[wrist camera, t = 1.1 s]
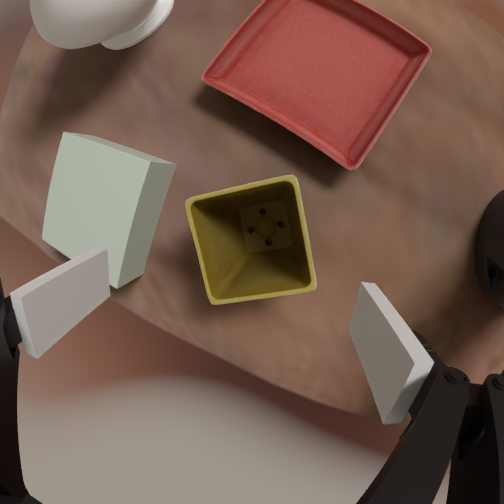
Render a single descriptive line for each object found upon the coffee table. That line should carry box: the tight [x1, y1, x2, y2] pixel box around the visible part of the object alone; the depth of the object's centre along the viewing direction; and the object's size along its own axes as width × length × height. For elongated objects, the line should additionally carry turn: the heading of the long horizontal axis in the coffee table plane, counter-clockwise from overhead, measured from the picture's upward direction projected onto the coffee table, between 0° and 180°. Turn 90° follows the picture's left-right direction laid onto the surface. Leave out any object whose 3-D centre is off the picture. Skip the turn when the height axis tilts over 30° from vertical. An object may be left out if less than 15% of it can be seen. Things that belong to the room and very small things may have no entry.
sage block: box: [42, 132, 177, 289], centre depth 30 cm, size 14×14×6 cm
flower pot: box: [185, 175, 317, 305], centre depth 26 cm, size 9×9×9 cm
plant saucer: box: [201, 0, 432, 171], centre depth 23 cm, size 18×18×3 cm
